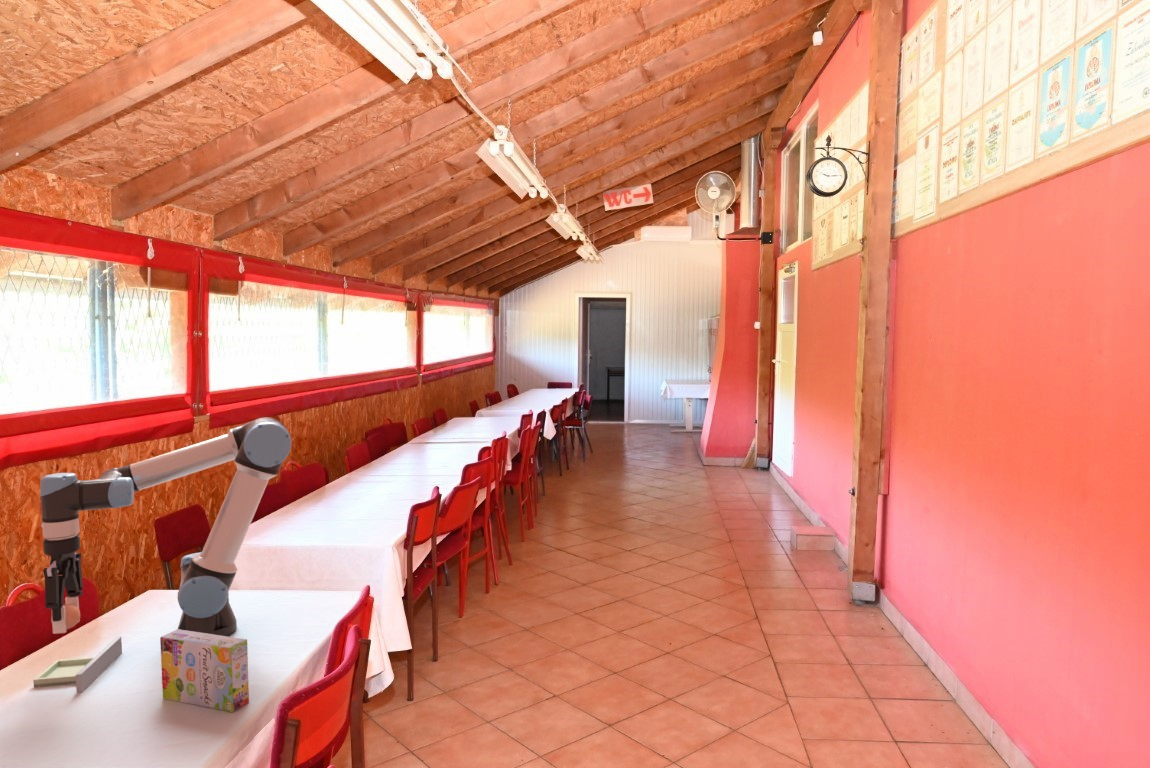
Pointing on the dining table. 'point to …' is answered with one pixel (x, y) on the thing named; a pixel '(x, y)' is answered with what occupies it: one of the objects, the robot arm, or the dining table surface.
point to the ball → (71, 615)
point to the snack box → (205, 669)
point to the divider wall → (98, 665)
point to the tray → (61, 672)
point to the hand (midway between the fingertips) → (66, 627)
